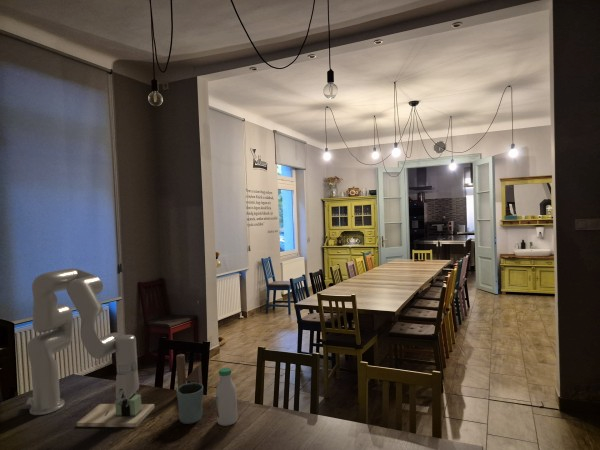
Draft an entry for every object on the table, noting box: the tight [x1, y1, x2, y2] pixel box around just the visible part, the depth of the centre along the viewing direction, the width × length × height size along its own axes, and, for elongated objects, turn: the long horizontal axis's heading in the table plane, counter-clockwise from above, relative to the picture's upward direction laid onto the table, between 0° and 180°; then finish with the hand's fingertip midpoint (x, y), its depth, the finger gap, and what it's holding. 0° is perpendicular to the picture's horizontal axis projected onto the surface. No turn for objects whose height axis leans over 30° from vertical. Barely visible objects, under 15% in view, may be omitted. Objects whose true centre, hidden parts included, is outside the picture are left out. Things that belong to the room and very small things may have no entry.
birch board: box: [76, 403, 155, 428], centre depth 162 cm, size 24×15×2 cm, turn 84°
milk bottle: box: [215, 367, 239, 427], centre depth 154 cm, size 8×8×20 cm
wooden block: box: [175, 353, 203, 393], centre depth 177 cm, size 4×11×18 cm, turn 81°
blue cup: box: [176, 382, 204, 425], centre depth 158 cm, size 10×10×12 cm
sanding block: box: [114, 394, 142, 417], centre depth 161 cm, size 8×5×6 cm, turn 84°
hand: (129, 411), depth 161 cm, fingers closed on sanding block, 5 cm apart
